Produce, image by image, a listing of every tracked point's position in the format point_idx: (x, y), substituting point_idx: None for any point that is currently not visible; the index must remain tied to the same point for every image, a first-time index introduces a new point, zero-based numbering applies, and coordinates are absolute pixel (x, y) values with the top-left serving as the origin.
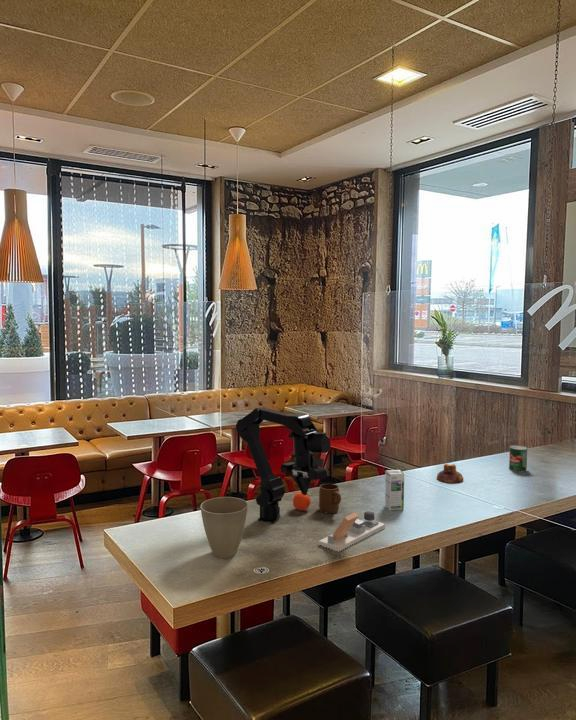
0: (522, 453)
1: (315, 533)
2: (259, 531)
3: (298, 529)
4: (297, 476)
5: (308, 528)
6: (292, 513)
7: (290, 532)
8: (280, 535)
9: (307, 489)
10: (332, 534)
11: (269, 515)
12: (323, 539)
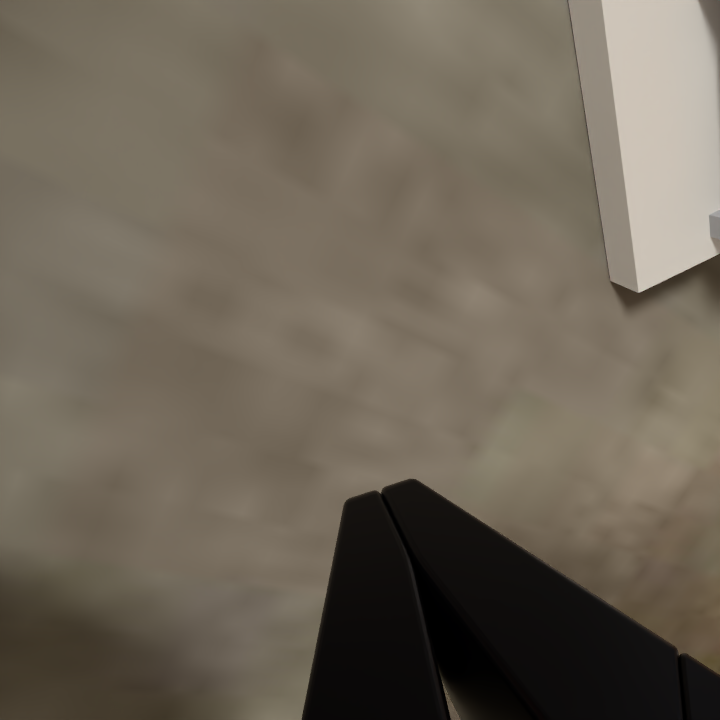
0: None
1: (380, 181)
2: (99, 664)
3: (194, 312)
4: None
5: (211, 187)
6: None
7: (240, 417)
8: (269, 519)
9: (541, 584)
10: (615, 80)
11: None
12: (644, 241)
